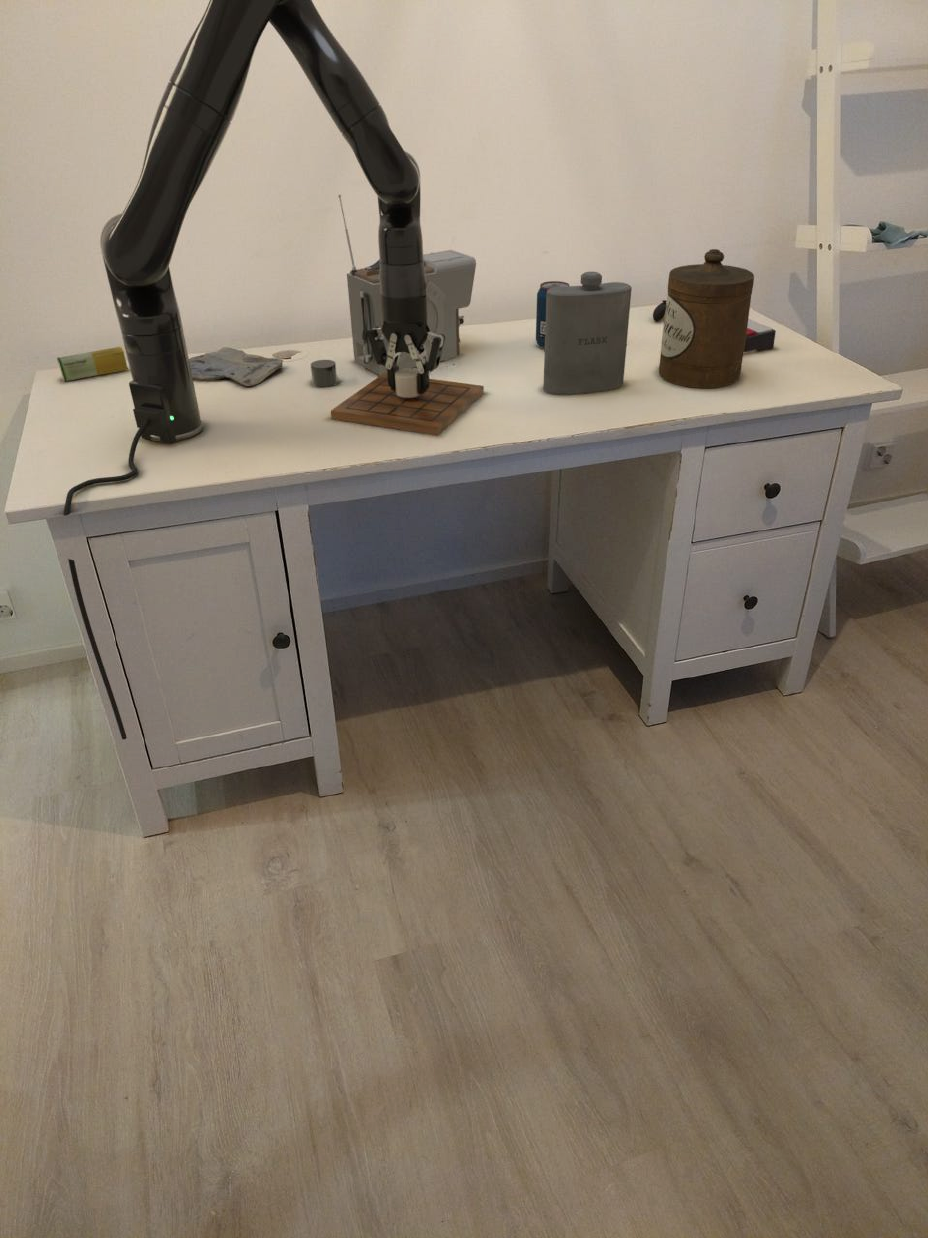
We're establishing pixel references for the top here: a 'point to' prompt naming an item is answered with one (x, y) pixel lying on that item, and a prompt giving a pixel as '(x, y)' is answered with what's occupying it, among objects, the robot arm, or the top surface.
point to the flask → (586, 336)
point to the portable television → (444, 299)
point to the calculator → (759, 337)
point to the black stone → (324, 373)
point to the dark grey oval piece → (659, 311)
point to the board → (408, 406)
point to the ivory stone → (406, 382)
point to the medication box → (92, 363)
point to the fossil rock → (233, 366)
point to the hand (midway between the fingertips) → (409, 390)
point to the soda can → (543, 310)
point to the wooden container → (705, 323)
